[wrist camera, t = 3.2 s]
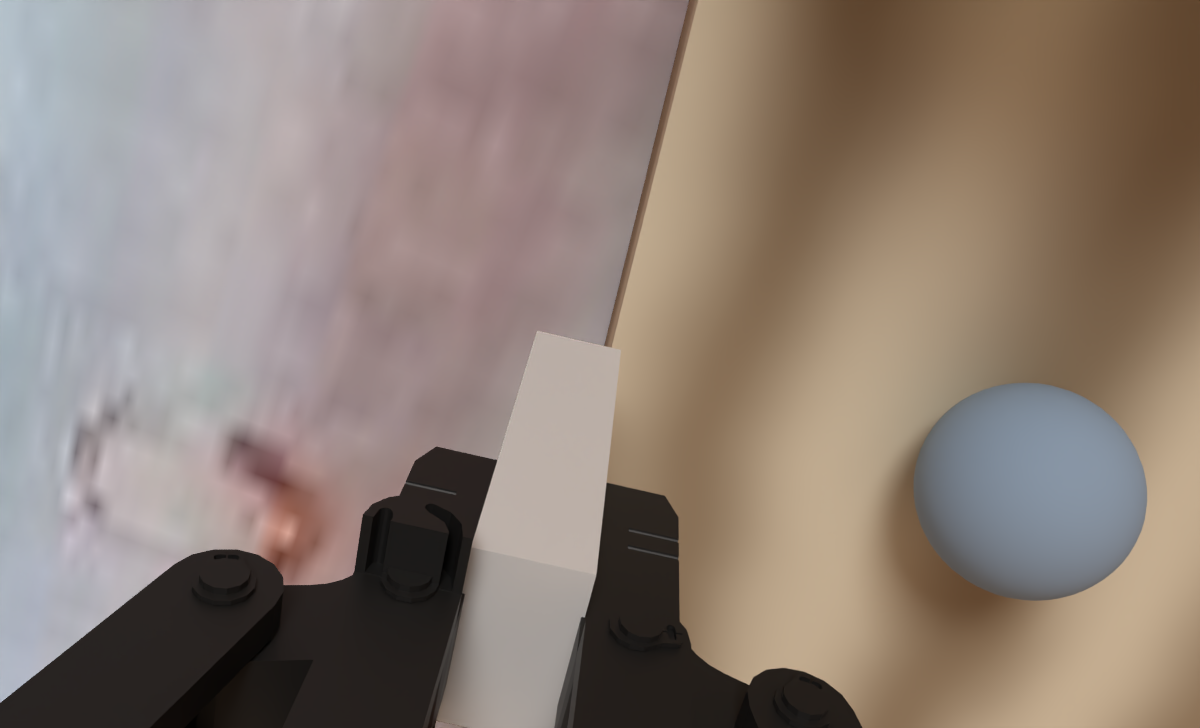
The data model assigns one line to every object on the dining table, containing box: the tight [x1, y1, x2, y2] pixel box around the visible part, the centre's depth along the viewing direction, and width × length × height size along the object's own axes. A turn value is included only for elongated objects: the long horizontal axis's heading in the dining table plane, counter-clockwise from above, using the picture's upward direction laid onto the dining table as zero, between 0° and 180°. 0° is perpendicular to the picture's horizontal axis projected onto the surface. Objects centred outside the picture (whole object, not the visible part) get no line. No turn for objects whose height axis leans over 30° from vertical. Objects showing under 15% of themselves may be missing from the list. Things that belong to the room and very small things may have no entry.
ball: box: [913, 383, 1147, 601], centre depth 19 cm, size 4×4×4 cm
